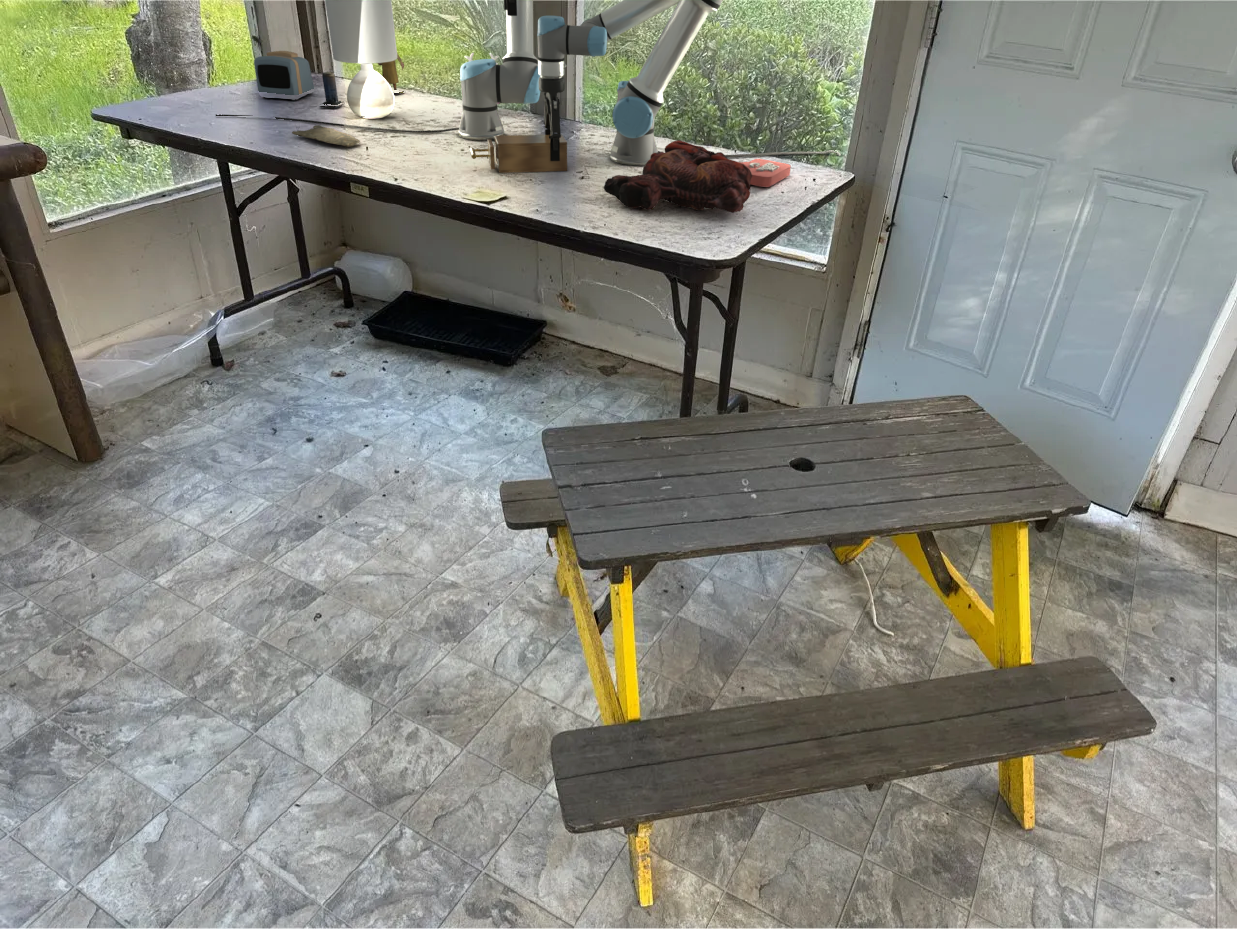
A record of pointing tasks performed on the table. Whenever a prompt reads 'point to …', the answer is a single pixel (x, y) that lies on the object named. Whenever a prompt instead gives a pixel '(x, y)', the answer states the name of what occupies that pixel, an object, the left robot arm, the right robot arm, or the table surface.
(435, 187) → the table surface
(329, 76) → the beverage can
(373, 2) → the lamp
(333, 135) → the stone tool
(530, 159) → the cabinet
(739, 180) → the sculpture
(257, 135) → the table surface
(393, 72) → the figurine
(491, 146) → the drawer
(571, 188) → the table surface
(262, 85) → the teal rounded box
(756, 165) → the plaque
